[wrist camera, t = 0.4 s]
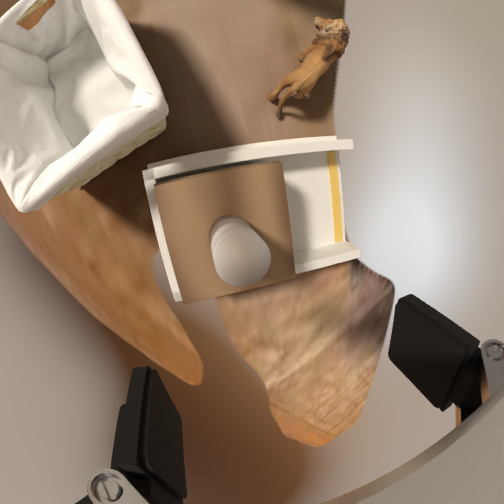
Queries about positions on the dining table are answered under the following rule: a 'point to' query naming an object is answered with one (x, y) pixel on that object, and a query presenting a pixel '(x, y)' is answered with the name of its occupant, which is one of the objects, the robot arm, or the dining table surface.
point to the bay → (297, 189)
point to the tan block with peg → (227, 229)
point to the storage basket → (71, 97)
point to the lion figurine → (314, 60)
